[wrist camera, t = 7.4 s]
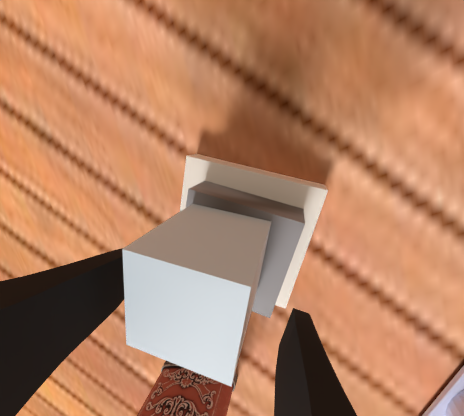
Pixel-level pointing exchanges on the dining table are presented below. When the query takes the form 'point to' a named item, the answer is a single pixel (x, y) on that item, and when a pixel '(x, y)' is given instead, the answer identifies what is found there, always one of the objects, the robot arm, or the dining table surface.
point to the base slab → (268, 187)
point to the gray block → (194, 288)
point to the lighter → (186, 394)
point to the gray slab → (279, 240)
